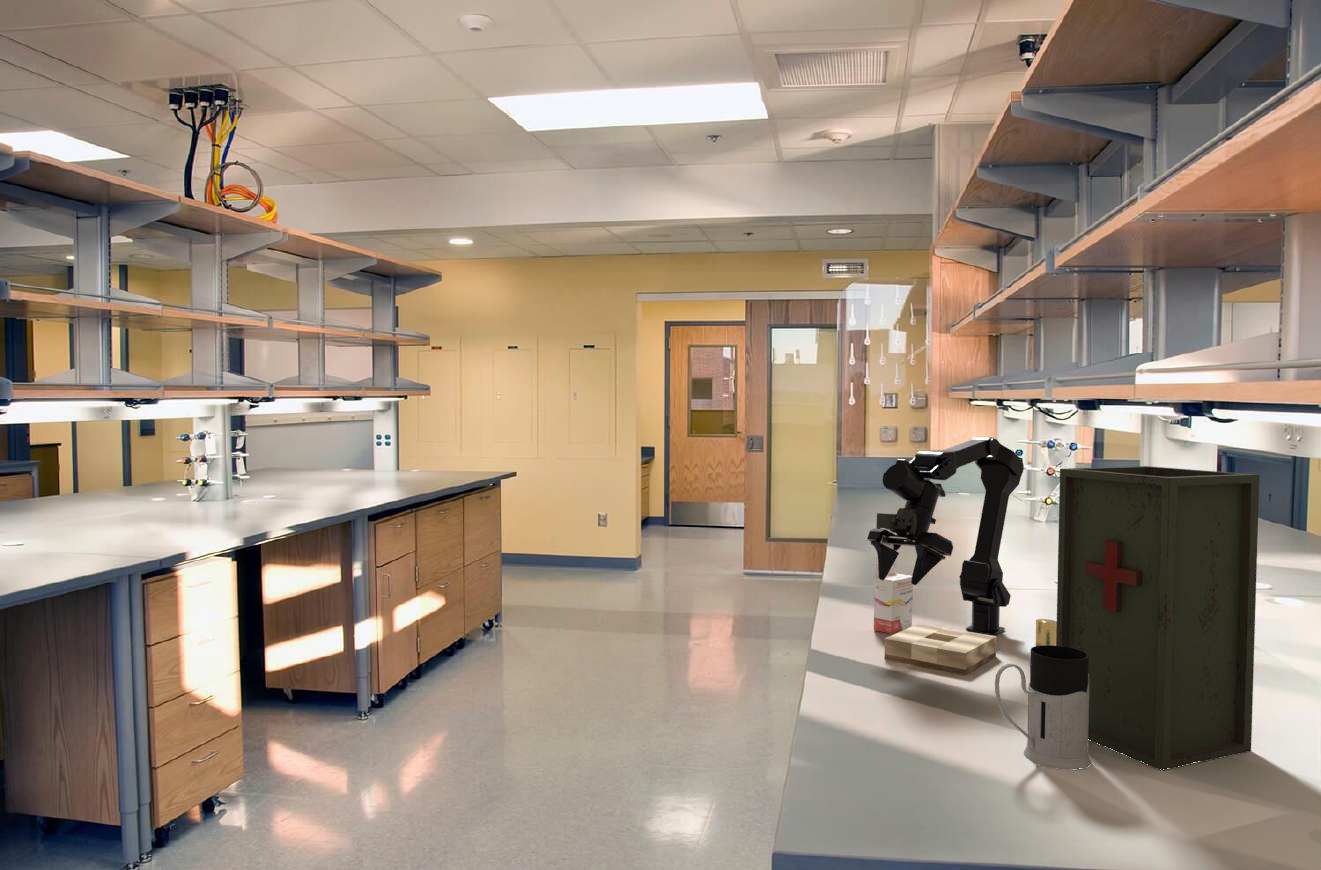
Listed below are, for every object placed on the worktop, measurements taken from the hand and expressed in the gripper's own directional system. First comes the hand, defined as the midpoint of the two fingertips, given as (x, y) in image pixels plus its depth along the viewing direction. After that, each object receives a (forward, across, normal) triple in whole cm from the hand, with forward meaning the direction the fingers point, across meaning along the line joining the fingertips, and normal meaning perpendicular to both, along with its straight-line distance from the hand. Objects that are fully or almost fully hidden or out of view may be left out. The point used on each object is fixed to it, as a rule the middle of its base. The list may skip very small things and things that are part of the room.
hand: (896, 581), depth 180 cm
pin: (+7, +20, +23) cm, 31 cm away
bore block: (+11, +5, +12) cm, 17 cm away
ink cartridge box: (+6, -16, +18) cm, 25 cm away
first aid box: (+16, +51, +10) cm, 54 cm away
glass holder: (+25, +49, -10) cm, 56 cm away
